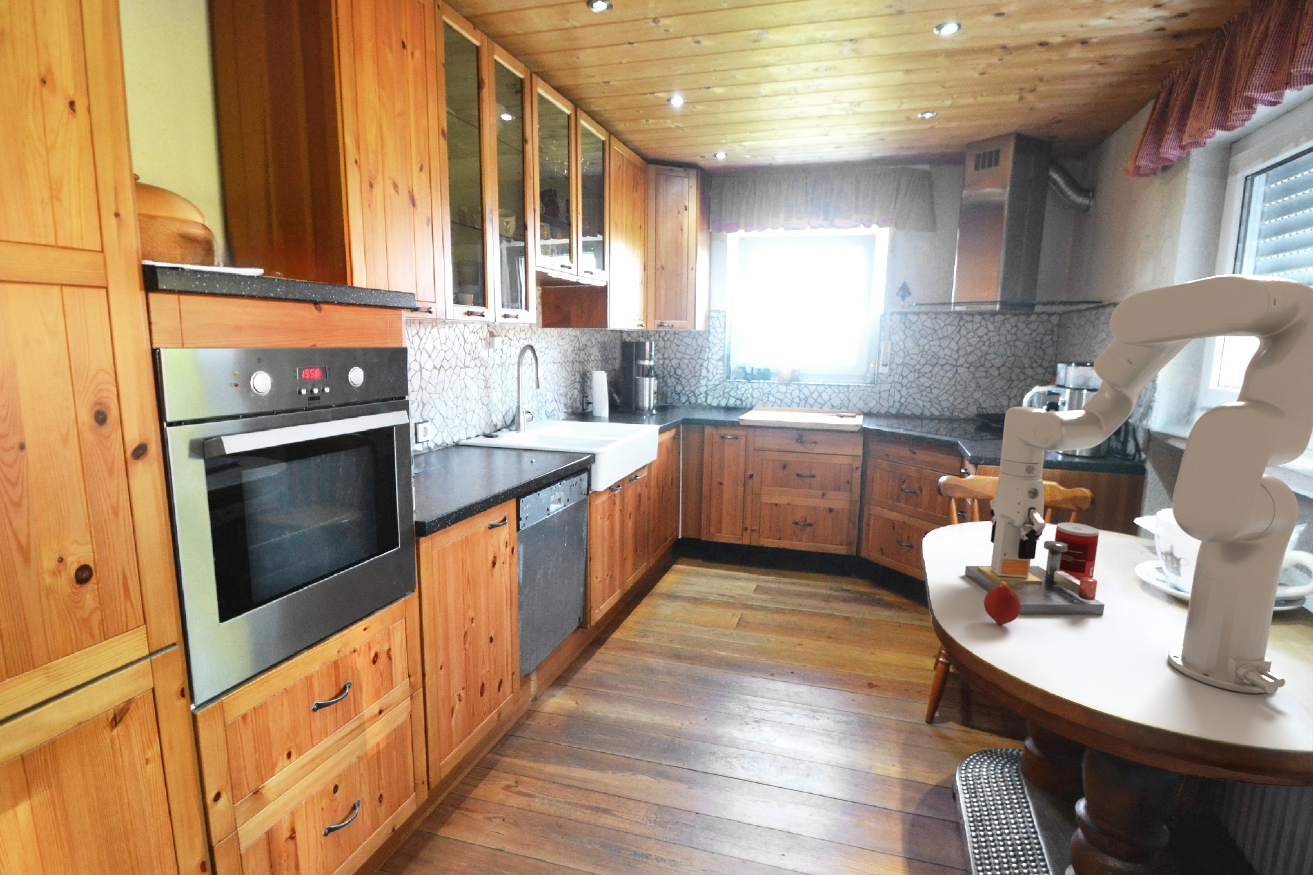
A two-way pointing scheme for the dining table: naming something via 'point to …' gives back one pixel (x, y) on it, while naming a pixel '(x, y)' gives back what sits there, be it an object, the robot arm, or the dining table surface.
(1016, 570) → the skincare box
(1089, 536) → the canned food
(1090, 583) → the lever
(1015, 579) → the press bed
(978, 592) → the dining table surface
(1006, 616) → the onion
